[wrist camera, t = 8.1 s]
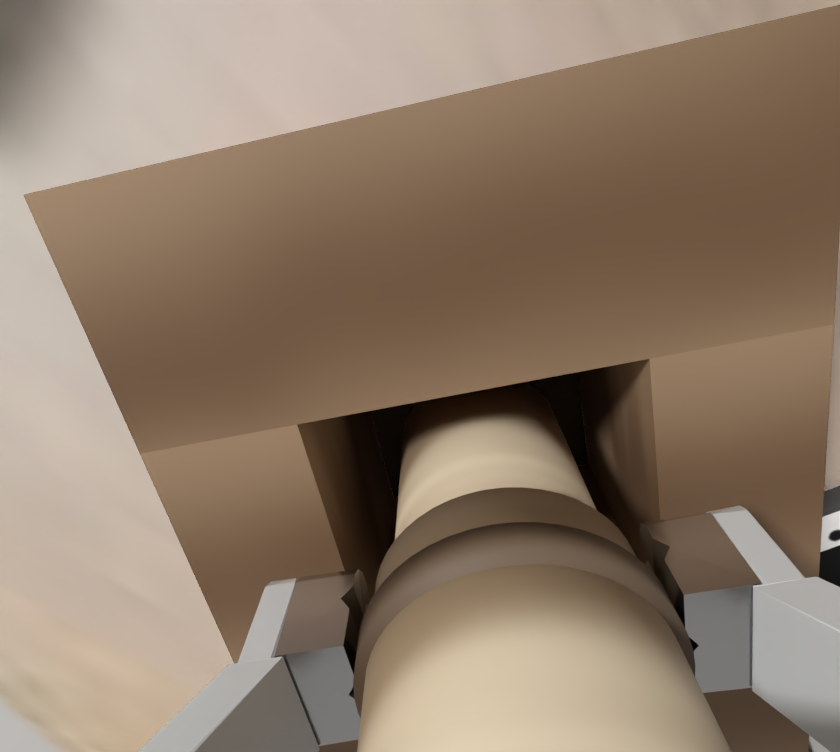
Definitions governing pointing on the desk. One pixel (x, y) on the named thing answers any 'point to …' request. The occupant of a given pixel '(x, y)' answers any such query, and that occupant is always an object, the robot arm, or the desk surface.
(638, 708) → the peg
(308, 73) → the desk surface
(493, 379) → the brown block with hole
